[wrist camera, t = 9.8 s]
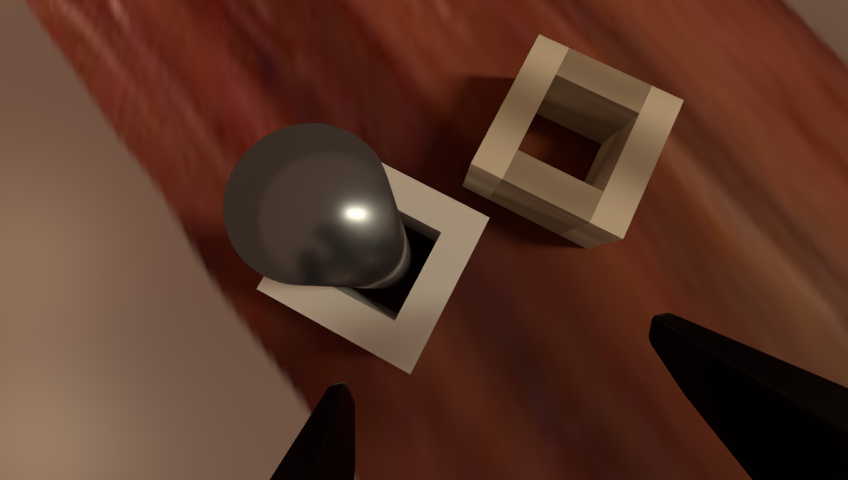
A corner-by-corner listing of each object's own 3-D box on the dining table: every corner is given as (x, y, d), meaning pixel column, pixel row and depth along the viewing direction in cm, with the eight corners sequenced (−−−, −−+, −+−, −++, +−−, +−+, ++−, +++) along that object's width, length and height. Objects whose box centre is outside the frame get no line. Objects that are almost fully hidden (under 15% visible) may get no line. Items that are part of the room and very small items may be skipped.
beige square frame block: (586, 248, 19) (623, 239, 15) (462, 186, 19) (470, 163, 16) (638, 133, 20) (683, 100, 16) (519, 78, 20) (539, 34, 17)
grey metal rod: (396, 299, 18) (337, 317, 6) (347, 272, 18) (190, 235, 6) (422, 249, 19) (420, 167, 6) (374, 223, 19) (280, 97, 6)
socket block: (412, 357, 18) (410, 374, 14) (288, 289, 18) (256, 288, 15) (477, 230, 19) (489, 217, 15) (358, 169, 19) (343, 143, 16)
